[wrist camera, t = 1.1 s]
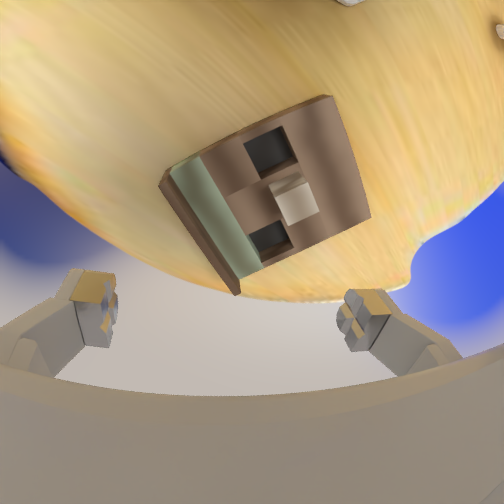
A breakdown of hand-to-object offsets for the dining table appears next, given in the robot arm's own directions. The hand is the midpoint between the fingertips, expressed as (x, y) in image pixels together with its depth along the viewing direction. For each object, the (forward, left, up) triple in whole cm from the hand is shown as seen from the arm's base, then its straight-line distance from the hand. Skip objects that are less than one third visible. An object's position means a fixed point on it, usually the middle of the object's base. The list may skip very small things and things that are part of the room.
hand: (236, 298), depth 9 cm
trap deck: (-3, +9, -28) cm, 30 cm away
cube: (-5, +9, -25) cm, 27 cm away
